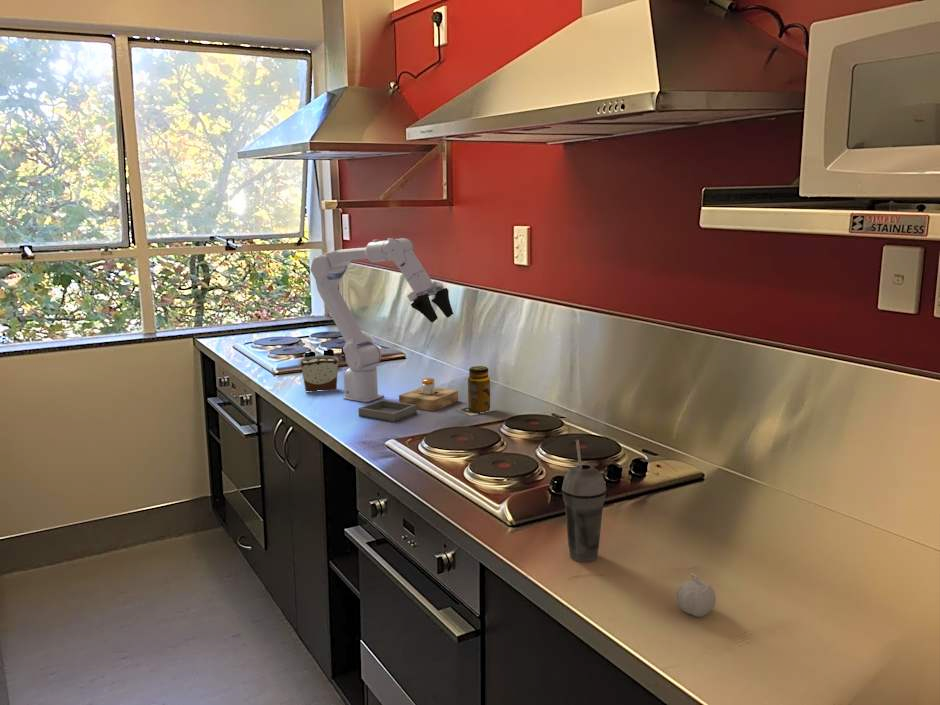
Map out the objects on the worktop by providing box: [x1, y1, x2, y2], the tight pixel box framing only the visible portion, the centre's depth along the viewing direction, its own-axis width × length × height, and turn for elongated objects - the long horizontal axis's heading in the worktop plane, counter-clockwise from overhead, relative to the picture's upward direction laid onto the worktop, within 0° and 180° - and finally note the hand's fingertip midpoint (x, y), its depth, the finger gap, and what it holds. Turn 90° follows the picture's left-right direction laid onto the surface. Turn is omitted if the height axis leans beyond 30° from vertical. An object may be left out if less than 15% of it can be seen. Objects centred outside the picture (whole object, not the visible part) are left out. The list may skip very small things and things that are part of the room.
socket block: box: [398, 386, 459, 412], centre depth 229 cm, size 12×12×3 cm
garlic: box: [675, 572, 717, 618], centre depth 114 cm, size 6×5×5 cm
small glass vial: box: [421, 377, 436, 396], centre depth 229 cm, size 3×3×7 cm
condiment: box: [456, 365, 491, 417], centre depth 220 cm, size 7×8×12 cm
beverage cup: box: [561, 439, 608, 563], centre depth 130 cm, size 7×7×20 cm
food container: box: [298, 355, 341, 392], centre depth 248 cm, size 12×6×10 cm, turn 108°
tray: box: [358, 399, 418, 423], centre depth 218 cm, size 12×10×2 cm
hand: (442, 318), depth 218 cm, fingers open, 7 cm apart
